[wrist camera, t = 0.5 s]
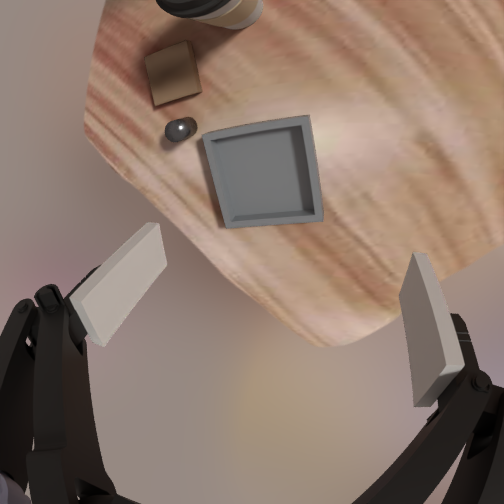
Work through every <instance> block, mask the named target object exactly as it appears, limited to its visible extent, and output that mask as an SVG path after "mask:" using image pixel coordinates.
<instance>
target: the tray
mask: <svg viewBox="0 0 504 504" xmlns="http://www.w3.org/2000/svg"><path fill="white" fill-rule="evenodd" d="M202 138H203V142H204V146H205V150H206V154H207V158H208V162H209V166H210V169H211V173H212V177H213V181H214V185H215V189H216V192H217V196H218V200H219V204H220V208H221V211H222V215H223V219H224V223H225V226H226V229H227V228H239V227H251V226H264V225H278V224H292V223H307V222H323V219H324V210H323V202H322V194H321V186H320V178H319V171H318V164H317V157H316V150H315V144H314V138H313V132H312V126H311V120H310V115H303V116H295V117H288V118H281V119H275V120H268V121H262V122H256V123H251V124H245V125H240V126H235V127H230V128H225V129H221V130H216V131H212V132H208V133H205V134H203V135H202Z"/></svg>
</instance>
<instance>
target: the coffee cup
mask: <svg viewBox="0 0 504 504" xmlns="http://www.w3.org/2000/svg"><path fill="white" fill-rule="evenodd" d="M156 2H157V4H158V5H159V6H160V8H161V9H163V10H164V11H166V12H167V13H169V14H171V15H173V16H176V17H181V18H187V19H191V20H195V21H199V22H203V23H206V24H210V25H213V26H218V27H224V28H227V29H242V28H246V27H248V26H250V25H252V24H253V23H254V22H255V21H256V20H257V19H258V18H259V17H260V15H261V13H262V10H263V2H262V0H156Z"/></svg>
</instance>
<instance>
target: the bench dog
mask: <svg viewBox="0 0 504 504" xmlns="http://www.w3.org/2000/svg"><path fill="white" fill-rule="evenodd" d="M196 131H197V123H196V121H195V120H194V119H193V118H191V117H185V118H181V119H177V120H174V121H170V122H169V123H168V124H167V125H166V127H165V135H166V137H167V139H168V140H170V141H171V142H179V141H181V140H183V139H186V138H188V137H191V136H193V135H194V134H195V133H196Z"/></svg>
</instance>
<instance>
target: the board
mask: <svg viewBox="0 0 504 504" xmlns="http://www.w3.org/2000/svg"><path fill="white" fill-rule="evenodd" d="M144 60H145V65H146V69H147V74H148V78H149V82H150V87H151V91H152V95H153V99H154V103H155V106H157V105H162V104H165V103H168V102H171V101H174V100H177V99H180V98H183V97H186V96H190V95H193V94H197V93H200V92H202V87H201V83H200V79H199V74H198V70H197V66H196V61H195V57H194V52H193V48H192V44H191V41H187V40H186V41H183V42H180V43H178V44H175V45H172V46H170V47H167V48H165V49H162V50H160V51H158V52H155V53H153V54H151V55H148V56H146V57H144Z"/></svg>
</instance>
